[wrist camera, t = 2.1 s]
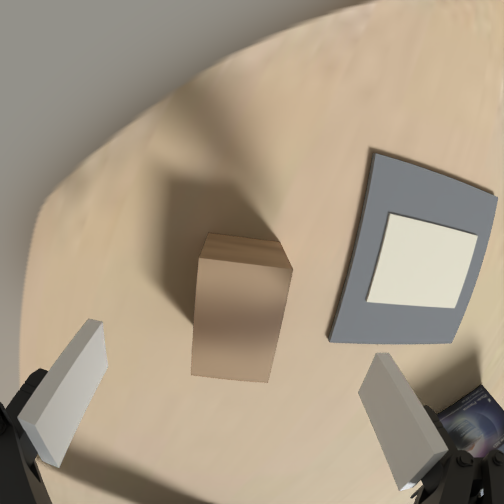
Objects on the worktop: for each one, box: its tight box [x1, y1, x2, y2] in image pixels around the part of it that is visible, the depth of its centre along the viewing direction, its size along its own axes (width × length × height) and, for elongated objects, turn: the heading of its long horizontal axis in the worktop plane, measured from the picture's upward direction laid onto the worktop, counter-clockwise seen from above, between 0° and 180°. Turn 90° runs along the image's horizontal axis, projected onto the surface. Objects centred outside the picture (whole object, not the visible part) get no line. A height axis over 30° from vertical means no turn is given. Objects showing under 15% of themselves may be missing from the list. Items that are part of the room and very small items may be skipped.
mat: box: [328, 153, 498, 344], centre depth 22 cm, size 15×14×1 cm
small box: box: [437, 385, 504, 457], centre depth 25 cm, size 11×6×10 cm, turn 116°
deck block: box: [191, 233, 293, 383], centre depth 20 cm, size 8×5×6 cm, turn 172°
